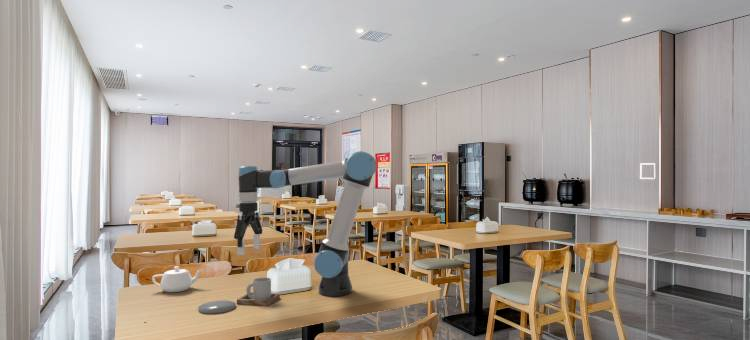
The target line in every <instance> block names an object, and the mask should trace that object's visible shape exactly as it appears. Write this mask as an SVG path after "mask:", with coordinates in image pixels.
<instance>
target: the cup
mask: <svg viewBox="0 0 750 340" xmlns="http://www.w3.org/2000/svg"><path fill="white" fill-rule="evenodd" d="M252 287H253V289H252V291H253V295H252V294H251V292H252V291H251V288H252ZM245 291H246V294H247V295H248V297H249V298H248V299H251V300H266V301H268V300H269V299H270V298H271V293H272V279H271V278H270V277H258V278H254V279H253V281H252V282H250V283H248V284H247V287H246V290H245Z"/></svg>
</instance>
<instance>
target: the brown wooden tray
mask: <svg viewBox="0 0 750 340" xmlns="http://www.w3.org/2000/svg"><path fill="white" fill-rule="evenodd" d="M250 292H251V294H252V295H253V292H252V291H250ZM280 295H281V294H280V293H272V292H271V298H270V299H269V300H268V301H266V300H253V299H250V298H249V297H248V295H247V293H246V294H244V295H243V296H242V295H241V296H240V297H239V298H237V299H236V305H247V306H249V305H250V306H263V307H269V306H271V305H272V304H273V303H275V302H276V301H278V300H279V299H280V298H281V296H280Z"/></svg>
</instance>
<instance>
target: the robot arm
mask: <svg viewBox="0 0 750 340" xmlns="http://www.w3.org/2000/svg"><path fill="white" fill-rule="evenodd" d="M377 166H378V165H377V161H376V159H375V157H374V156H373V155H371V154H370V153H369V152H366V151H356V152H353V153H352V154H350V156H349V157H345V158H344V159H343V160H340V161H332V162H327V163H326V162H324V163H319V164H314V165H313V164H311V165H306V166H300V167H294V168H286V169H273V170H272V169H271V170H270V169H269V170H268V169H267V170H258V167H257V166H256V165H249V166H248V165H246V166H245V165H244V166H240V167H239V168H238V176H237V177H238V192H239V193H238V198H239V200H238V202H239V204H238V207H239V208H238V210H239V212H240V213H241V214H238V215H237V221H236V227H235V232H234V234H233V238H234V240H237V256H245V251H246V250H245V249H246V248H245V238H244V237H245V234H246V231H247V228H248V226H250V227H251V229H252V231H253V233H254V234H252V235H253V237H252V239H253V250H261V235H262V234H263V227H262V223H261V219H260V213H259V211H258V209H259V208H258V189H280V188H281V189H282V188H285V187H289V186H295V185H302V184H310V183H315V182H322V181H328V180H329V181H330V180H337V179H342V181H343V183H344V185H343V187H342V191H341V193H340V198H339V200H338V203H337V206H336V208H335V209H336V210H335V213H334V215H333V218H332V222H331V224H330V228H329V231H328V233H327V237H326V238H324V239H322V241H321V244H320V247H319V249H318V252H317V253H316V255H315V257H314V261H313V267H314V269H315V271H316V274H318V275H319V276H321V279H320V283H319V285H318V294H319V295H321V296H326V297H341V296H348V295H350V294H352V292H353V285H352V281H351V279H350V276H349V275H350V274H349V250H350V249H349V248H350V247H349V243H348V242H349V238H350V234H351V232H352V229H353V225H354V222H355V219H356V216H357V213H358V210H359V206H360V204H361V201H362V198H363V195H364V192H365V191H366V189H368V188H369V187H370V185H371V182H372V178H373V176H374V175H375V173H376V171H377Z"/></svg>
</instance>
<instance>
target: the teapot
mask: <svg viewBox="0 0 750 340" xmlns="http://www.w3.org/2000/svg"><path fill="white" fill-rule="evenodd" d="M202 271H203V269H199V270H197V271H196V274H195V275H194V276H193V277H192V275H191V273H190V270H189V269H185V268H180V266H177V265H176V266H174V267H173V269H169V270H167V271H164V273H162V274H160V273H159V274H154V275H153V276H151V281H152V283H154V284H155V285H156V286H158V287H160V288H161V289H162V291H164V292H167V293H179V292H180V293H181V292H185V291H186V290H189V288H191V286H192V285H193V284H194V283H196V282H197V281H198V279H199V275H200V273H201V272H202ZM157 277H161V280H160V283H159V282H157V281H156V279H155V278H157Z"/></svg>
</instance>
